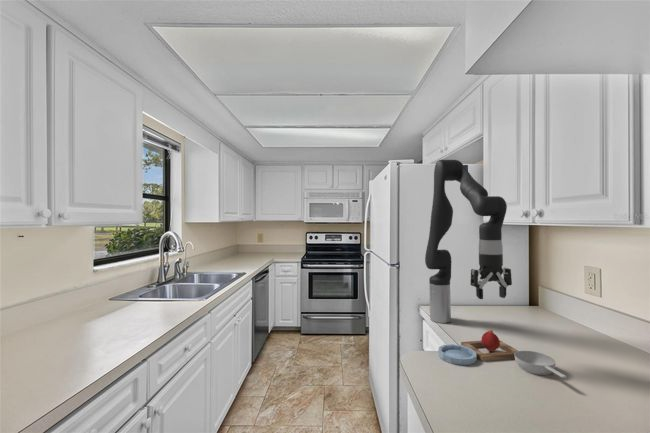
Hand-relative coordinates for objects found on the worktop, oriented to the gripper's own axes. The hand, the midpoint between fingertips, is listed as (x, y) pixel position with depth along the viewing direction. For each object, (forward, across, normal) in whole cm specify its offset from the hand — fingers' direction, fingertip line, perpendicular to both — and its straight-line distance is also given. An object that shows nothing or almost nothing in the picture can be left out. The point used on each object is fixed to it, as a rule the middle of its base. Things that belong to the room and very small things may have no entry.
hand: (491, 298), depth 110 cm
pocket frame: (+19, 0, -1) cm, 19 cm away
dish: (+19, +14, +1) cm, 24 cm away
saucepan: (+20, -5, +16) cm, 26 cm away
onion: (+20, 0, -1) cm, 20 cm away
